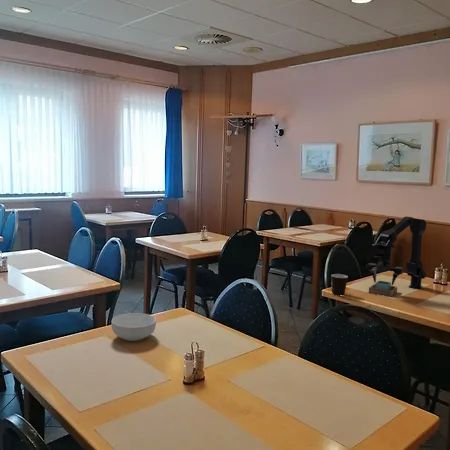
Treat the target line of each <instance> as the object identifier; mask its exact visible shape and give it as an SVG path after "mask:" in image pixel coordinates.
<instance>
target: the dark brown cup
mask: <svg viewBox="0 0 450 450" xmlns="http://www.w3.org/2000/svg"><path fill="white" fill-rule="evenodd" d="M348 277H349V276H348V275H346V274H340V273H333V274H331V276H330V280H331V294H332V293H333V294H334V295H333V294H332V295H333V296H335V295H337V296H336V297H341V296H340V295H344V294H345V293H346V290H347V289H346V288H347V285H348ZM338 295H339V296H338ZM345 295H346V294H345ZM345 295H344V296H345Z"/></svg>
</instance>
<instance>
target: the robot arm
mask: <svg viewBox="0 0 450 450" xmlns="http://www.w3.org/2000/svg"><path fill="white" fill-rule="evenodd" d="M407 228H409V231H410V232H411V234H412V235H411V251H410V259H409V261H406V268H405V269H404V267H402V266H395V267H392V264H391V263H392V252H393V250H392V249H394V248H395V245H394V243H395V242H396V240H398V239H397V238H398V237H399V235H400V234H401V233H402V232H403V231H405V230H406V229H407ZM426 228H427V222H426V219H423V218H422V219H421V218H415V217H412V216H407V215H406V216H404V217H403V218H402V219H401V220H400V221H399V222H397V223H396V224H395V225H394V226H392V228H390V229H387V230H383V231H382V232H381V233H380V234H379V236H378V238H377V240H376V241H375V243H373V244H371V246H370V247H369V248H368V255H369V257H371V258H379V259H378V262H377V264H376V263H373V262H369V263H367V264H366V265H365V269H366V270H368V272H369V273H370V274H371V276H372V279H373V282H374V283H373V284H375V283H376V282H377V272H383V273H386V272H387V271H389V272H393V273H392V279H391V286H394V284H395V281H396V280H397V278H398V277H399V276H400V275H403V274H404V273H405V272H404V271H405V270H406V274H407V276H409V277H410V284H409V285H408V288H410V289H411V288H412V289H417V290H421V289H423V285H422V282H423V281H422V280H423V279H424V280H425V279H426V277H427V273H426V272H425V271H424V266H423V265H424V264H423V263H422V261H421V254H422V253H421V251H422V239H423V238H422V237H423V234H424V233H425V231H426Z"/></svg>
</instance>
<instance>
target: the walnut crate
mask: <svg viewBox="0 0 450 450" xmlns="http://www.w3.org/2000/svg"><path fill="white" fill-rule="evenodd" d="M397 292H398V286H394V285H393V286H392V285H391V291H388V290H383V289H377V288H376V283H373V284H372V285H371V286H369V287H368V294H372V293H374V294H373V295H377V294H379V295H378V296H383V295H384V297H389V296H390V297H389V298H392V297H393V296H394V295H396V294H397Z"/></svg>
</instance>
